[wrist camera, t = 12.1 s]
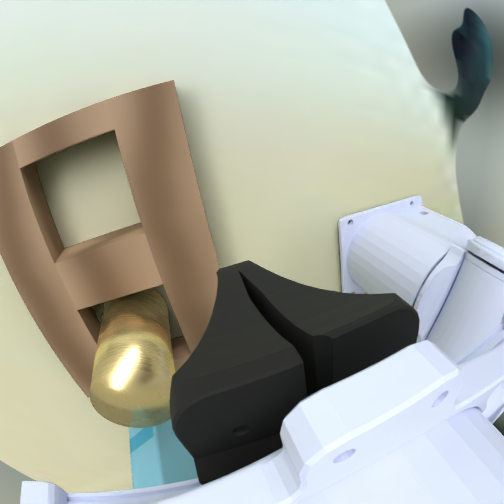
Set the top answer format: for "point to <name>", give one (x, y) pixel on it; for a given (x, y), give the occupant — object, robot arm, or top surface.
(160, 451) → the data package
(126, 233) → the jig plate
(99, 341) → the brass peg
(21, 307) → the top surface
